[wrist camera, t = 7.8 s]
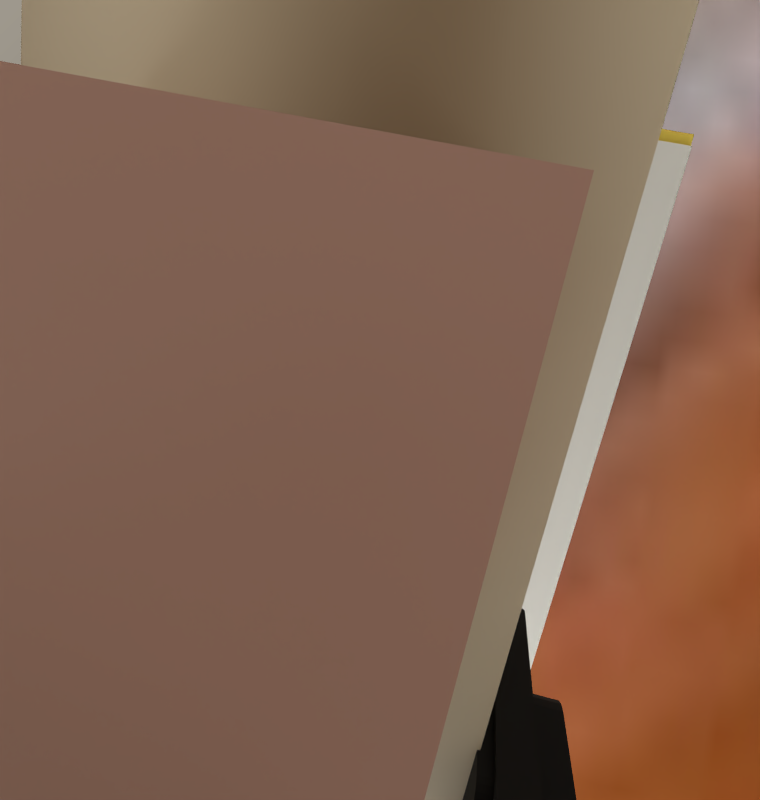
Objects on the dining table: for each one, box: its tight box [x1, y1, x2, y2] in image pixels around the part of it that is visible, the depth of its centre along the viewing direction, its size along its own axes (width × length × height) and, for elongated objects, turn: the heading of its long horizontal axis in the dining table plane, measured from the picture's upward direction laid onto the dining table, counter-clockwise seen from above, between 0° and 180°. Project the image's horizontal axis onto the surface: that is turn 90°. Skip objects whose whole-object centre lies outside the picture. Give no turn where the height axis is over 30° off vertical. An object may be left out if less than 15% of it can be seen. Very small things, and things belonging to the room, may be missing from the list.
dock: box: [522, 129, 694, 670], centre depth 23 cm, size 13×20×5 cm, turn 170°
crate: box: [0, 61, 594, 800], centre depth 5 cm, size 4×4×4 cm
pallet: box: [21, 0, 699, 800], centre depth 10 cm, size 6×20×4 cm, turn 170°
